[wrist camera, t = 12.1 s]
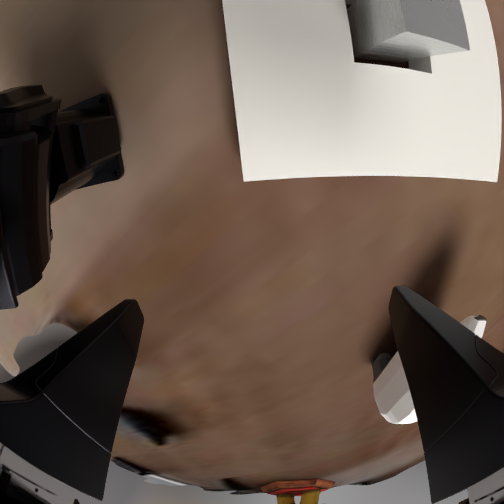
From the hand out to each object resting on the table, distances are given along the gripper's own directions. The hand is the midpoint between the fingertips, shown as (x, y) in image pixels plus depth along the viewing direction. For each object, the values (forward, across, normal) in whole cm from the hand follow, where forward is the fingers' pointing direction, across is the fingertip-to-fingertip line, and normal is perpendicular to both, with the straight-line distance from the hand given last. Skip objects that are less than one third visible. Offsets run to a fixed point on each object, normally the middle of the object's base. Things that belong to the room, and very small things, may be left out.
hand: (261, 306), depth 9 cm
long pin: (+11, -8, -11) cm, 17 cm away
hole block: (+11, -8, -11) cm, 17 cm away
